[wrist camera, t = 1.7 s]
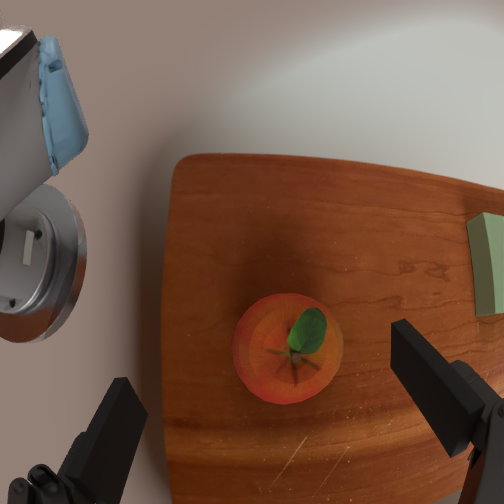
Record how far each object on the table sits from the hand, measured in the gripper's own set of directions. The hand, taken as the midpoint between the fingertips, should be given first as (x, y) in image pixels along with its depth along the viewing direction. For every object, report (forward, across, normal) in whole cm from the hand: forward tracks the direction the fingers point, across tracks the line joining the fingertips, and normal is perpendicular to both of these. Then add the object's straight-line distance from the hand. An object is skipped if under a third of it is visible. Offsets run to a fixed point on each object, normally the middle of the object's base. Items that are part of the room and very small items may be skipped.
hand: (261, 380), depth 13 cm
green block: (+18, +35, -9) cm, 40 cm away
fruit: (+14, +1, -8) cm, 16 cm away
